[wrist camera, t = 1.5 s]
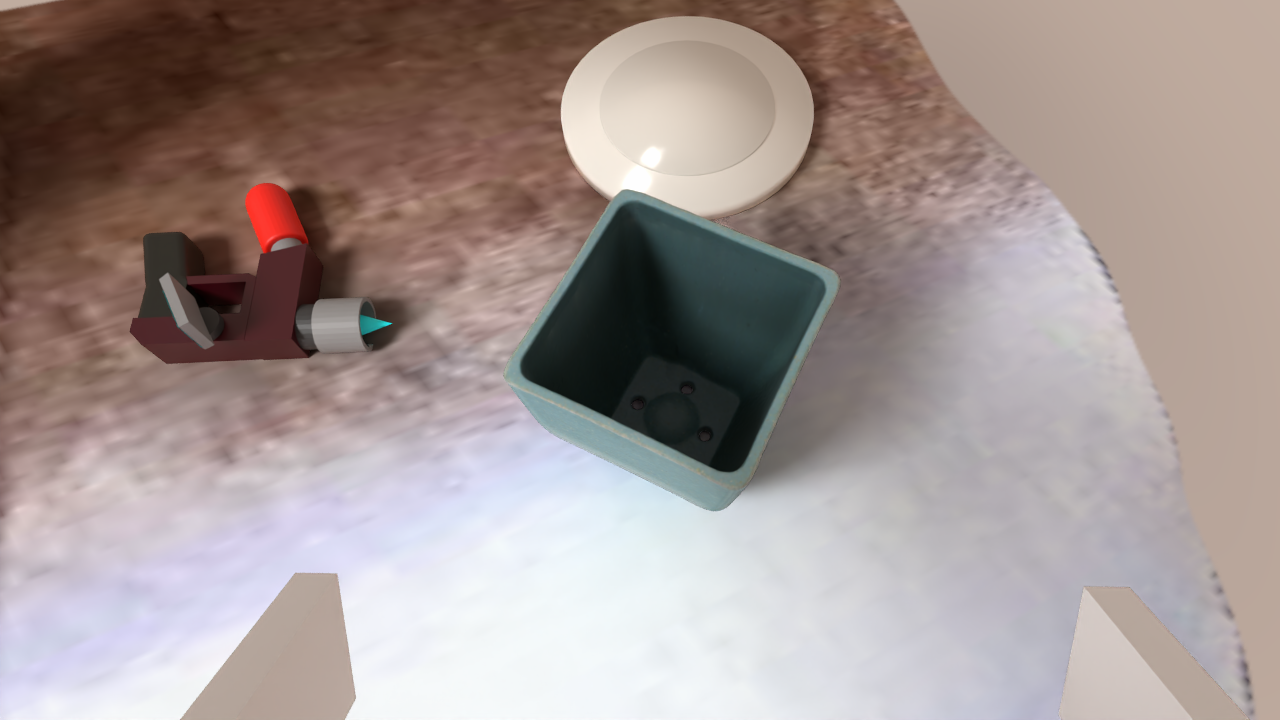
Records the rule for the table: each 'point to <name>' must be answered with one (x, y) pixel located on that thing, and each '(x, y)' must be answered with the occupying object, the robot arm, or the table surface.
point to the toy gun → (247, 297)
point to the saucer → (688, 115)
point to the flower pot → (672, 347)
